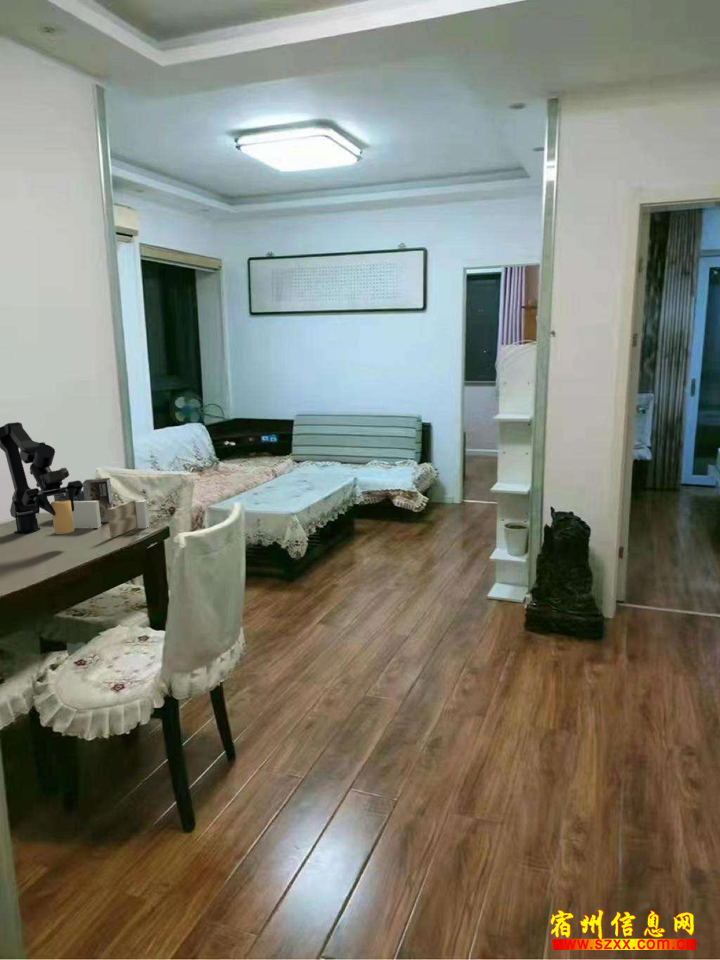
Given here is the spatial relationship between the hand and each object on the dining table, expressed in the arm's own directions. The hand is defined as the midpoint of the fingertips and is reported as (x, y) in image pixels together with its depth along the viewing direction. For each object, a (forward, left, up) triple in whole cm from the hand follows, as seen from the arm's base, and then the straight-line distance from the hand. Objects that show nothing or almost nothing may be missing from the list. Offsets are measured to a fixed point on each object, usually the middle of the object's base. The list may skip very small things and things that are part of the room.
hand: (64, 512), depth 220 cm
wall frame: (-1, +25, -12) cm, 28 cm away
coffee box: (-10, +34, -12) cm, 38 cm away
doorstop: (-1, +1, -7) cm, 7 cm away
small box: (-25, +38, -13) cm, 47 cm away
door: (+9, +20, -12) cm, 25 cm away
